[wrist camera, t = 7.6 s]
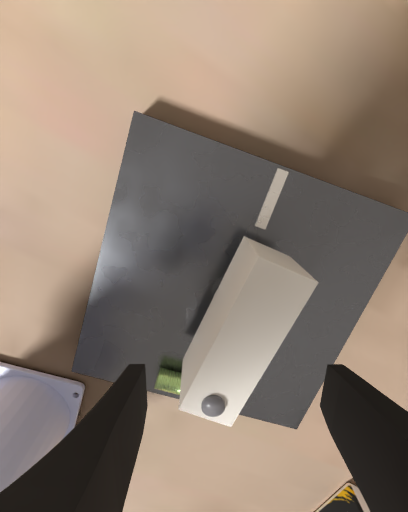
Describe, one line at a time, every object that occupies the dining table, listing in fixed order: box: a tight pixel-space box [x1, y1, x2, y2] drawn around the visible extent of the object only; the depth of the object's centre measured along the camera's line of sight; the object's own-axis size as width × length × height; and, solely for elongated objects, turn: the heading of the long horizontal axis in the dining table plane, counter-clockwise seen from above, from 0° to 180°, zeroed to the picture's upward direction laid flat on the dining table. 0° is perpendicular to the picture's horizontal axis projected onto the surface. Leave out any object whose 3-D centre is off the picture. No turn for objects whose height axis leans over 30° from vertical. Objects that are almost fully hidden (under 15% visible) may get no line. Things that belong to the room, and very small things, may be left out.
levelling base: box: [72, 111, 408, 429], centre depth 18 cm, size 18×18×3 cm
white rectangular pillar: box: [179, 236, 319, 427], centre depth 16 cm, size 3×9×6 cm, turn 156°
